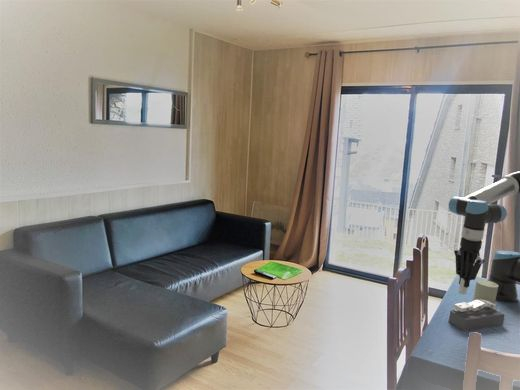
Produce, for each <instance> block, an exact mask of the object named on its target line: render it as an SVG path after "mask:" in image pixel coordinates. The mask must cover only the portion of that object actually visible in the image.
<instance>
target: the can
mask: <svg viewBox="0 0 520 390" xmlns="http://www.w3.org/2000/svg"><path fill="white" fill-rule="evenodd" d="M474 288H475V289H474V292H473V293H474V294H473V297H472V298H473V299H472V301H475V300H480V299H481V300H486V301H489V302H491V303H493V304H495V305H496V303H495V302H496V300H497V299H496V295H497V290H498V285H497V284H496V283H494V282H491V281H488V280H487V279H476V281H475V287H474Z"/></svg>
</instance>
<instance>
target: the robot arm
mask: <svg viewBox="0 0 520 390" xmlns="http://www.w3.org/2000/svg"><path fill="white" fill-rule="evenodd" d="M518 194H519V195H520V170H519V171H515V172H512V173H508V174H506V175H504V176H502V177H501V178H500V179H499V180H498V181H496V182H494V183H492V184H490V185H487V186H485V187H483V188H481V189H479V190H476V191H475V192H472V193H470V194H468V195H466V196H464V197H461V196H453V197H451V198H450V200H449V201H448V210H449V211H450V212H451V213H453V214H455V215H457V216H458V215H459V216H463V217H464V223H463V228H462V233H461V236H462V237H461V238H460V242H459V244H460V245H459V246H460V248H459V249H456V250H453V251H454V256H455V275H458V276H459V281H458V285H459V288H458V289H459V290H458V294H459V295H467V292H468V288H469V287H470V283H471V281H472V280H473V281H475V280H476V279H477V276H478V274H479V271H480V268H481V267H482V265H483V264H484V263H485V259H484V258H481V257H480V256H481V255H480V250H481V249H482V244H483V241H482V240H483V239H484V234H485V227H486V224H497V223H501V222H503V221H504V220H505V219H506V218H507V216H508V214H507V213H508V212H507V209H506V208H505V206H503V205H502V204H497V203H494V202H497V201H499V200H501V199H504V198H505V197H507V196H514V195H518ZM488 281H491V282H494V283H496V284H497V285H498V290H497V295H496V300H497V301H501V302H507V303H514V302H517V300H518V290H517V283H520V252H517V251H511V250H497V251H495V252H494V253H493V258H492V262H491V268H490V273H489V278H488Z"/></svg>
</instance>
